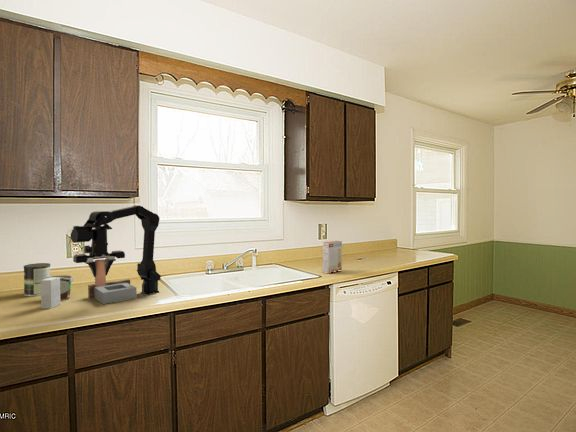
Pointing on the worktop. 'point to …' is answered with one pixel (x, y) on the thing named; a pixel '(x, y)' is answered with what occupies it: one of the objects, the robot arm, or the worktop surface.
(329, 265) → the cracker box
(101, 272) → the dowel
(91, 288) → the walnut wall
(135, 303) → the worktop surface
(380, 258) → the worktop surface
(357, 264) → the worktop surface
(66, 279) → the food container
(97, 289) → the socket block
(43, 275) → the coffee can
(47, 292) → the skincare box
